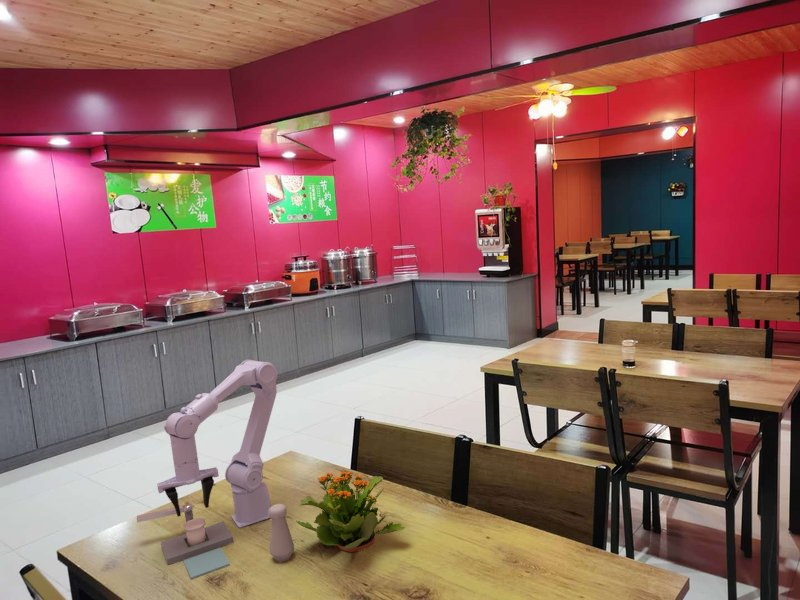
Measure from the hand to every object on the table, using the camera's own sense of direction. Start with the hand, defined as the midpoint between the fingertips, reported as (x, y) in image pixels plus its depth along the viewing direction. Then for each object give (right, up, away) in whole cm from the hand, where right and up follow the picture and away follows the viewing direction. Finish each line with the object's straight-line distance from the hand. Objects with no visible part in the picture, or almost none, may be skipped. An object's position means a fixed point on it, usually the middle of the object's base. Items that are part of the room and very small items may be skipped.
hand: (192, 510), depth 147 cm
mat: (+6, -10, -8) cm, 14 cm away
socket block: (+1, -9, +1) cm, 9 cm away
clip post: (-3, -9, +8) cm, 12 cm away
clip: (-9, -3, +5) cm, 11 cm away
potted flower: (+42, -7, -5) cm, 43 cm away
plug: (+1, -9, +1) cm, 9 cm away
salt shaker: (+25, -9, -8) cm, 27 cm away
